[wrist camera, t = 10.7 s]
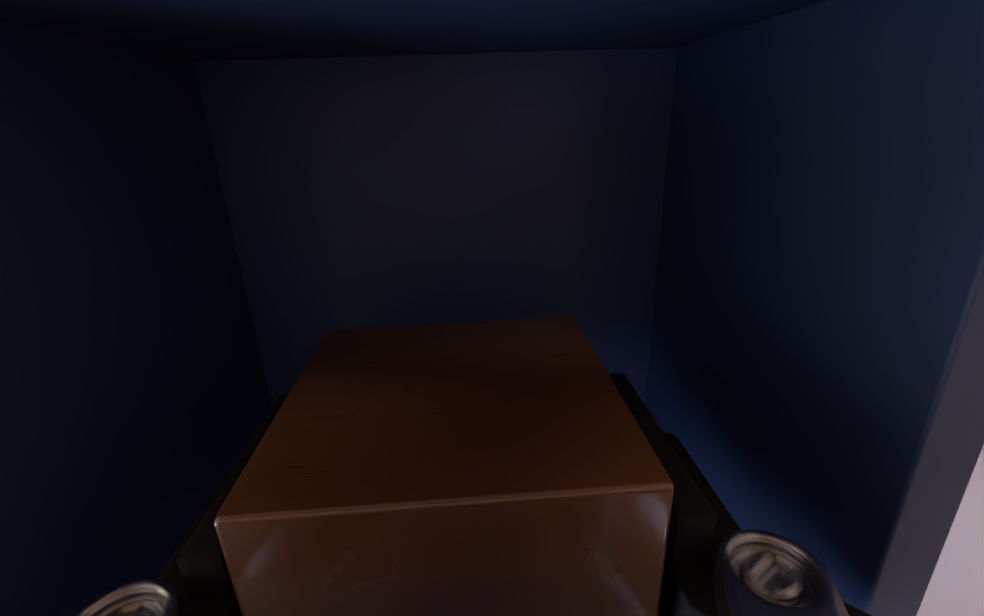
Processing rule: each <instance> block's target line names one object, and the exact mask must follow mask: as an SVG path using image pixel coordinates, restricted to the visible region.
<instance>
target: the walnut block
mask: <svg viewBox="0 0 984 616" xmlns="http://www.w3.org/2000/svg"><path fill="white" fill-rule="evenodd" d="M673 492H674V485H673V483H672V481H671V479H670V477H669V476H668V474H667V472H666V471H665V469H664V467H663V465H662V464H661V462H660V460H659V459H658V457H657V455H656V454H655V452H654V450H653V449H652V447H651V445H650V444H649V442H648V440H647V438H646V437H645V435H644V433H643V432H642V430H641V428H640V427H639V425H638V423H637V422H636V420H635V418H634V417H633V415H632V413H631V411H630V410H629V408H628V406H627V405H626V403H625V401H624V400H623V398H622V396H621V395H620V393H619V391H618V389H617V388H616V386H615V384H614V383H613V381H612V379H611V378H610V376H609V374H608V373H607V371H606V369H605V368H604V366H603V364H602V362H601V361H600V359H599V357H598V356H597V354H596V352H595V351H594V349H593V347H592V346H591V344H590V342H589V340H588V339H587V337H586V335H585V334H584V332H583V330H582V329H581V327H580V325H579V324H578V322H577V320H576V319H575V317H573V316H567V317H549V318H532V319H515V320H497V321H480V322H462V323H445V324H428V325H410V326H393V327H375V328H358V329H341V330H328V331H326V332H325V333H324V335H323V337H322V338H321V340H320V342H319V343H318V345H317V347H316V349H315V350H314V352H313V354H312V355H311V357H310V359H309V360H308V362H307V364H306V365H305V367H304V369H303V370H302V372H301V374H300V375H299V377H298V379H297V380H296V382H295V384H294V385H293V387H292V389H291V391H290V392H289V394H288V396H287V397H286V399H285V401H284V402H283V404H282V406H281V407H280V409H279V411H278V412H277V414H276V416H275V417H274V419H273V421H272V422H271V424H270V426H269V427H268V429H267V431H266V433H265V434H264V436H263V438H262V439H261V441H260V443H259V444H258V446H257V448H256V449H255V451H254V453H253V454H252V456H251V458H250V459H249V461H248V463H247V464H246V466H245V468H244V470H243V471H242V473H241V475H240V476H239V478H238V480H237V481H236V483H235V485H234V486H233V488H232V490H231V491H230V493H229V495H228V496H227V498H226V500H225V501H224V503H223V505H222V506H221V508H220V510H219V512H218V513H217V515H216V517H215V522H214V525H215V529H216V532H217V535H218V539H219V542H220V545H221V548H222V552H223V555H224V558H225V561H226V565H227V568H228V571H229V574H230V578H231V581H232V584H233V587H234V591H235V594H236V597H237V600H238V604H239V607H240V610H241V614H242V616H658V611H659V603H660V595H661V587H662V579H663V571H664V563H665V555H666V547H667V539H668V531H669V523H670V515H671V507H672V500H673Z"/></svg>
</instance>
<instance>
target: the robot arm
mask: <svg viewBox="0 0 984 616" xmlns="http://www.w3.org/2000/svg"><path fill="white" fill-rule="evenodd" d="M609 376H610V378H611V379H612V381H613V383H614V384H615V386H616V388H617V389H618V391H619V393H620V395H621V396H622V398H623V400H624V401H625V403H626V405H627V406H628V408H629V410H630V411H631V413H632V415H633V417H634V418H635V420H636V422H637V423H638V425H639V427H640V428H641V430H642V432H643V433H644V435H645V437H646V438H647V440H648V442H649V444H650V445H651V447H652V449H653V450H654V452H655V454H656V455H657V457H658V459H659V460H660V462H661V464H662V465H663V467H664V469H665V471H666V472H667V474H668V476H669V477H670V479H671V481H672V483H673V485H674V492H673V500H672V507H671V515H670V523H669V531H668V539H667V547H666V555H665V563H664V571H663V579H662V587H661V595H660V603H659V611H658V616H872V615H870V614H868V613H865V612H863V611H861V610H859V609H857V608H855V607H853V606H851V605H849V604H847V603H845V602H843V601H842V599H841V596H840V594H839V592H838V590H837V587H836V585H835V583H834V581H833V579H832V577H831V575H830V574H829V572H828V571H827V569H826V568H825V566H824V565H823V564H822V563H821V562H820V561H819V560H818V559H817V558H816V557H815V556H814V555H813V554H812V553H811V552H810V551H808V550H807V549H805V548H804V547H802V546H801V545H799V544H798V543H796V542H795V541H793V540H790V539H788V538H786V537H784V536H781V535H779V534H776V533H772V532H768V531H764V530H756V529H744V530H741V529H740V528H739V526H738V525H737V523H736V522H735V520H734V519H733V518H732V516H731V515H730V513H729V512H728V510H727V509H726V507H725V506H724V504H723V503H722V502H721V500H720V499H719V497H718V496H717V494H716V493H715V491H714V490H713V488H712V487H711V486H710V484H709V483H708V481H707V480H706V478H705V477H704V475H703V474H702V473H701V471H700V470H699V468H698V467H697V465H696V464H695V462H694V461H693V459H692V458H691V457H690V455H689V454H688V452H687V451H686V449H685V448H684V446H683V445H682V443H681V442H680V441H679V439H678V438H677V437H676V436H675V435H674V434H672V433H663V432H662V430H661V429H660V427H659V426H658V424H657V423H656V421H655V420H654V418H653V417H652V415H651V414H650V412H649V411H648V409H647V408H646V406H645V405H644V403H643V401H642V400H641V398H640V397H639V395H638V394H637V392H636V391H635V389H634V388H633V386H632V385H631V383H630V382H629V380H628V379H627V377H626V375H625V374H624V373H611V374H609ZM287 396H288V394H282V395H279V396H278V398H277V399H276V401H275V402H274V404H273V406H272V407H271V409H270V410H269V412H268V414H267V415H266V417H265V418H264V420H263V422H262V423H261V425H260V426H259V428H258V430H257V431H256V433H255V434H254V436H253V437H252V439H251V441H250V442H249V444H248V445H247V447H246V449H245V450H244V452H243V453H242V455H241V457H240V458H239V460H238V461H237V463H236V464H233V465H231V466H230V467H229V468H228V469H227V470H226V471H225V473H224V474H223V476H222V478H221V479H220V481H219V482H218V484H217V485H216V487H215V488H214V490H213V492H212V493H211V495H210V496H209V498H208V499H207V501H206V502H205V504H204V506H203V507H202V509H201V510H200V512H199V513H198V515H197V516H196V518H195V520H194V521H193V523H192V524H191V526H190V527H189V529H188V530H187V532H186V534H185V535H184V537H183V538H182V540H181V541H180V543H179V544H178V546H177V548H176V549H175V551H174V552H173V554H172V555H171V557H170V558H169V560H168V562H167V563H166V565H165V566H164V568H163V569H162V571H161V572H160V574H159V576H158V577H157V579H154V578H145V579H140V580H135V581H130V582H127V583H124V584H122V585H119V586H117V587H114V588H112V589H109V590H108V591H106V592H104V593H103V594H101V595H99V596H97V597H96V598H94V599H92V600H90V601H89V602H88V603H87V604H85V605H84V606H83V607H81V608H80V609H79V610H78V611H76V612H75V613H74V614H73V615H72V616H242V614H241V610H240V607H239V604H238V600H237V597H236V594H235V591H234V587H233V584H232V581H231V578H230V574H229V571H228V568H227V565H226V561H225V558H224V555H223V552H222V548H221V545H220V542H219V539H218V535H217V532H216V529H215V525H214V522H215V517H216V515H217V513H218V512H219V510H220V508H221V506H222V505H223V503H224V501H225V500H226V498H227V496H228V495H229V493H230V491H231V490H232V488H233V486H234V485H235V483H236V481H237V480H238V478H239V476H240V475H241V473H242V471H243V470H244V468H245V466H246V464H247V463H248V461H249V459H250V458H251V456H252V454H253V453H254V451H255V449H256V448H257V446H258V444H259V443H260V441H261V439H262V438H263V436H264V434H265V433H266V431H267V429H268V427H269V426H270V424H271V422H272V421H273V419H274V417H275V416H276V414H277V412H278V411H279V409H280V407H281V406H282V404H283V402H284V401H285V399H286V397H287Z"/></svg>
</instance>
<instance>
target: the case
mask: <svg viewBox="0 0 984 616" xmlns="http://www.w3.org/2000/svg"><path fill="white" fill-rule="evenodd" d="M567 316H573V317H575V319H576V320H577V322H578V324H579V325H580V327H581V329H582V330H583V332H584V334H585V335H586V337H587V339H588V340H589V342H590V344H591V346H592V347H593V349H594V351H595V352H596V354H597V356H598V357H599V359H600V361H601V362H602V364H603V366H604V368H605V369H606V371H607V373H608V374H611V373H624V374H625V375H626V377H627V379H628V380H629V382H630V383H631V385H632V386H633V388H634V389H635V391H636V392H637V394H638V395H639V397H640V398H641V400H642V401H643V403H644V405H645V406H646V408H647V409H648V411H649V412H650V414H651V415H652V417H653V418H654V420H655V421H656V423H657V424H658V426H659V427H660V429H661V430H662V432H663V433H672V434H674V435H675V436H676V437H677V438H678V439H679V441H680V442H681V443H682V445H683V446H684V448H685V449H686V451H687V452H688V454H689V455H690V457H691V458H692V459H693V461H694V462H695V464H696V465H697V467H698V468H699V470H700V471H701V473H702V474H703V475H704V477H705V478H706V480H707V481H708V483H709V484H710V486H711V487H712V488H713V490H714V491H715V493H716V494H717V496H718V497H719V499H720V500H721V502H722V503H723V504H724V506H725V507H726V509H727V510H728V512H729V513H730V515H731V516H732V518H733V519H734V520H735V522H736V523H737V525H738V526H739V528H740V529H741V530H744V529H756V530H764V531H768V532H772V533H776V534H779V535H781V536H784V537H786V538H788V539H790V540H793V541H795V542H796V543H798V544H799V545H801V546H802V547H804V548H805V549H807V550H808V551H810V552H811V553H812V554H813V555H814V556H815V557H816V558H817V559H818V560H819V561H820V562H821V563H822V564H823V565H824V566H825V568H826V569H827V571H828V572H829V574H830V575H831V577H832V579H833V581H834V583H835V585H836V587H837V590H838V592H839V594H840V596H841V599H842V601H843V602H845V603H847V604H849V605H851V606H853V607H855V608H857V609H859V610H861V611H863V612H865V613H868V614H870V615H872V616H916V615H917V612H918V610H919V607H920V605H921V602H922V599H923V597H924V594H925V592H926V589H927V587H928V584H929V582H930V579H931V577H932V574H933V571H934V569H935V566H936V564H937V561H938V559H939V556H940V554H941V551H942V549H943V546H944V543H945V541H946V538H947V536H948V533H949V531H950V528H951V526H952V523H953V521H954V518H955V515H956V513H957V510H958V508H959V505H960V503H961V500H962V498H963V495H964V493H965V490H966V487H967V485H968V482H969V480H970V477H971V475H972V472H973V470H974V467H975V465H976V462H977V459H978V457H979V454H980V452H981V449H982V447H983V444H984V0H0V616H72V615H73V614H74V613H75V612H76V611H78V610H79V609H80V608H81V607H83V606H84V605H85V604H87V603H88V602H89V601H90V600H92V599H94V598H96V597H97V596H99V595H101V594H103V593H104V592H106V591H108V590H109V589H112V588H114V587H117V586H119V585H122V584H124V583H127V582H130V581H135V580H140V579H145V578H154V579H157V577H158V576H159V574H160V572H161V571H162V569H163V568H164V566H165V565H166V563H167V562H168V560H169V558H170V557H171V555H172V554H173V552H174V551H175V549H176V548H177V546H178V544H179V543H180V541H181V540H182V538H183V537H184V535H185V534H186V532H187V530H188V529H189V527H190V526H191V524H192V523H193V521H194V520H195V518H196V516H197V515H198V513H199V512H200V510H201V509H202V507H203V506H204V504H205V502H206V501H207V499H208V498H209V496H210V495H211V493H212V492H213V490H214V488H215V487H216V485H217V484H218V482H219V481H220V479H221V478H222V476H223V474H224V473H225V471H226V470H227V469H228V468H229V467H230V466H231V465H233V464H236V463H237V461H238V460H239V458H240V457H241V455H242V453H243V452H244V450H245V449H246V447H247V445H248V444H249V442H250V441H251V439H252V437H253V436H254V434H255V433H256V431H257V430H258V428H259V426H260V425H261V423H262V422H263V420H264V418H265V417H266V415H267V414H268V412H269V410H270V409H271V407H272V406H273V404H274V402H275V401H276V399H277V398H278V396H279V395H282V394H289V392H290V391H291V389H292V387H293V385H294V384H295V382H296V380H297V379H298V377H299V375H300V374H301V372H302V370H303V369H304V367H305V365H306V364H307V362H308V360H309V359H310V357H311V355H312V354H313V352H314V350H315V349H316V347H317V345H318V343H319V342H320V340H321V338H322V337H323V335H324V333H325V332H326V331H328V330H341V329H358V328H375V327H393V326H410V325H428V324H445V323H462V322H480V321H497V320H515V319H532V318H549V317H567Z"/></svg>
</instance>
